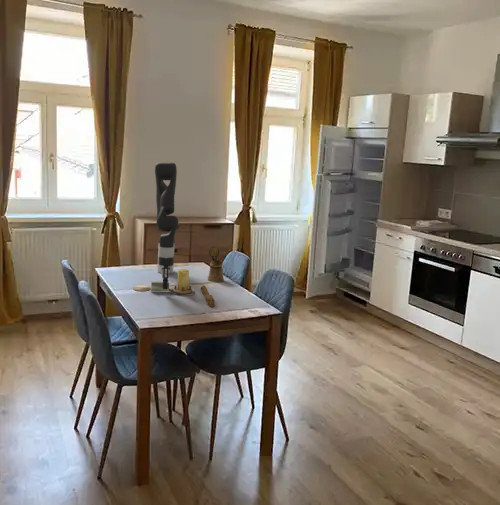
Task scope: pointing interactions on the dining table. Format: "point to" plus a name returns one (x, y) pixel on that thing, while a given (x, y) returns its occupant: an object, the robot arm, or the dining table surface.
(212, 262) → the wooden mug
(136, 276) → the dining table surface
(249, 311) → the dining table surface
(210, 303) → the tap handle
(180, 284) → the cylinder with side tabs
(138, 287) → the coaster
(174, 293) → the stand base
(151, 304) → the dining table surface
